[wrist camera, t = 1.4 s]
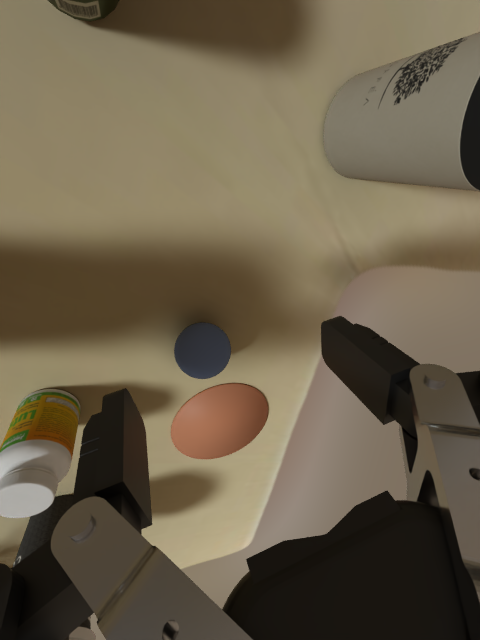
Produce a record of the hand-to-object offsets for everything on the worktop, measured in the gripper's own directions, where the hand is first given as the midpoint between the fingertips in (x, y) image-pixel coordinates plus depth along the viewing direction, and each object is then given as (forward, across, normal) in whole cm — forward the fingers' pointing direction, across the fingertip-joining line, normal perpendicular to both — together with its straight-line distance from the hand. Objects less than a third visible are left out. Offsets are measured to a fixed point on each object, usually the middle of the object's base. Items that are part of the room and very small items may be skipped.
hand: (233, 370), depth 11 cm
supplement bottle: (+18, +16, +12) cm, 27 cm away
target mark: (+18, 0, +24) cm, 30 cm away
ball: (+15, 0, +10) cm, 18 cm away
